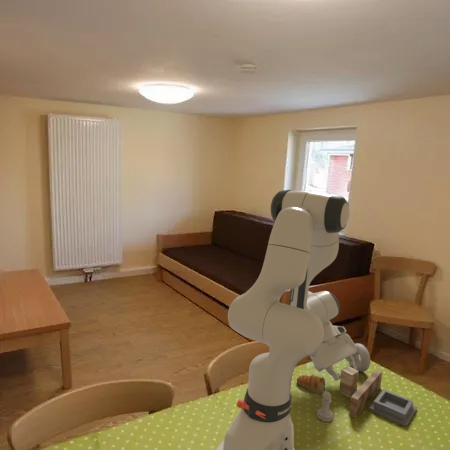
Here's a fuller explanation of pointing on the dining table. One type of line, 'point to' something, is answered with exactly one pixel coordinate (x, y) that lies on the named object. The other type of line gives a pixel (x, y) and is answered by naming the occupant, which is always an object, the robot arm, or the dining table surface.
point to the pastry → (312, 383)
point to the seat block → (393, 407)
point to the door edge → (365, 393)
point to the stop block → (348, 381)
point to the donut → (364, 357)
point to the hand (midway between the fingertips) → (346, 375)
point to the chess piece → (325, 408)
